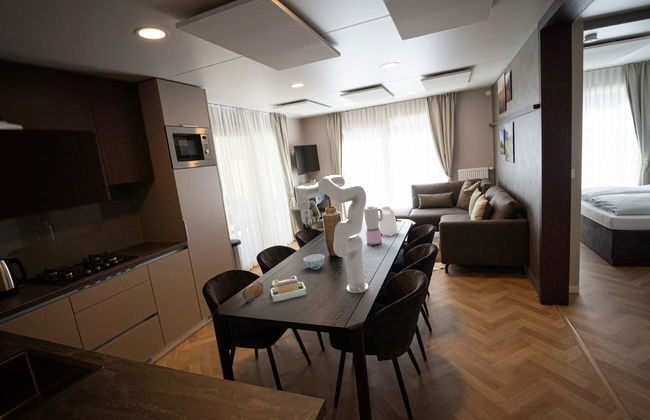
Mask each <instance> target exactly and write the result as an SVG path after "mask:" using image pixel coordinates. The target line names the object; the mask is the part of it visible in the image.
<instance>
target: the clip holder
mask: <svg viewBox="0 0 650 420" xmlns="http://www.w3.org/2000/svg"><path fill="white" fill-rule="evenodd" d="M294 279H297V281H298V282H299V280H298V278H297V276H296V275H293V276H292V275H291V276H290V277H289V278H288V279H283V280H279V279H274V280H272V283H271V284H272V288H276V287H277V283H281V282H285V281H290V280H294Z"/></svg>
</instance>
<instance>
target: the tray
mask: <svg viewBox="0 0 650 420" xmlns="http://www.w3.org/2000/svg"><path fill="white" fill-rule="evenodd" d="M298 287H301V288H302V289H301V288H300V289H299V290H296V291H292V292H287V293H283V294H279V295H278V294H275V295H274V293H278V289H277V287H276V288H273V287H272V288H270V294H271V299H272V302H273V303H276V302H280V301H285V300H288V299H293V298H296V297H301V296H302V297H303V296H306V295H308V294H307V288H306V286H305V284H304V281H298Z"/></svg>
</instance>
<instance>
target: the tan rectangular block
mask: <svg viewBox="0 0 650 420" xmlns="http://www.w3.org/2000/svg"><path fill="white" fill-rule="evenodd" d="M297 280H298V278H297V279H294V280H290V281H285V282H281V283H277V289H278V292H277V295H279V294H283V293H287V292H292V291H296V290H300V289H299V287H298V283H299V280H298V281H297Z"/></svg>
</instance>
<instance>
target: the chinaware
mask: <svg viewBox="0 0 650 420" xmlns="http://www.w3.org/2000/svg"><path fill="white" fill-rule="evenodd" d="M303 262H304V264H305V265H306V267H308V268H310V269H312V270H313V271H314V270H319V269H320V268H321V267H322V265H324V262H325V255H324V254H321V253H317V254H316V253H315V254H314V253H313V254H310V255H307V256H305V257H303Z"/></svg>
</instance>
